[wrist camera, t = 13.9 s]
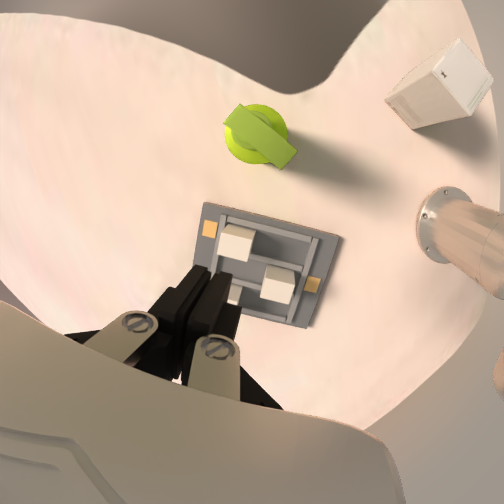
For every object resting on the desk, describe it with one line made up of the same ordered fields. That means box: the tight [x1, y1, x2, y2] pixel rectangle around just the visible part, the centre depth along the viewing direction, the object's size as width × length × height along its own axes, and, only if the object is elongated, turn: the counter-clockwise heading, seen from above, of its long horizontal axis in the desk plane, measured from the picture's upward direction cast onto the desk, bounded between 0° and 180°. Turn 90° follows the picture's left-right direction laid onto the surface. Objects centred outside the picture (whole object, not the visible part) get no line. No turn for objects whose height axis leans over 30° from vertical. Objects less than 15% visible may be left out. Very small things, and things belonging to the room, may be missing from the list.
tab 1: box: [217, 224, 256, 262], centre depth 37 cm, size 4×3×5 cm
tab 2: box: [227, 283, 243, 305], centre depth 40 cm, size 4×3×5 cm
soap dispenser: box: [223, 104, 298, 170], centre depth 27 cm, size 6×7×20 cm
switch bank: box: [192, 202, 339, 329], centre depth 42 cm, size 20×16×2 cm
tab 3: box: [260, 264, 295, 304], centre depth 39 cm, size 4×3×5 cm
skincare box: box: [384, 38, 494, 130], centre depth 24 cm, size 8×7×16 cm
